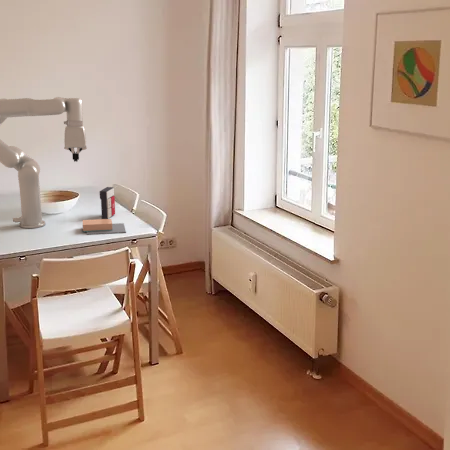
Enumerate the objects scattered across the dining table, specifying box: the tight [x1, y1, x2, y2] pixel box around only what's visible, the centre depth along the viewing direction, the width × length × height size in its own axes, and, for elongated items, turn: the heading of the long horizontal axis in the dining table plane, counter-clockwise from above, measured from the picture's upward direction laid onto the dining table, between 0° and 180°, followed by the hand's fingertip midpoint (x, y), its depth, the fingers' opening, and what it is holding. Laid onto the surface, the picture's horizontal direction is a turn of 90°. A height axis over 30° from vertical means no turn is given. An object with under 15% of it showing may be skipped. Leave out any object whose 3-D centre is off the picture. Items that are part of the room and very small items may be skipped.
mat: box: [86, 222, 127, 236], centre depth 319 cm, size 18×16×1 cm
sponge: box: [82, 218, 113, 233], centre depth 318 cm, size 4×9×14 cm
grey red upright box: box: [99, 186, 116, 219], centre depth 340 cm, size 11×4×15 cm, turn 168°
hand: (75, 161), depth 321 cm, fingers closed
